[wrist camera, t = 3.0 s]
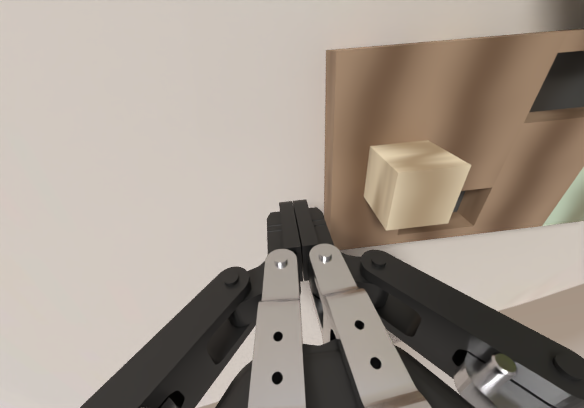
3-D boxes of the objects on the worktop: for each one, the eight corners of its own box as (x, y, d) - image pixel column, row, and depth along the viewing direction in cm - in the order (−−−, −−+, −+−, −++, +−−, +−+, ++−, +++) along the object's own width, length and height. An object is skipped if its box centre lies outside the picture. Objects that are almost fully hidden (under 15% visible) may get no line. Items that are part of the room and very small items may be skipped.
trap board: (726, 16, 15) (797, 11, 13) (582, 202, 24) (613, 217, 22) (326, 50, 14) (336, 51, 12) (323, 232, 23) (329, 251, 21)
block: (428, 140, 16) (471, 165, 12) (414, 190, 18) (448, 223, 15) (369, 146, 16) (398, 173, 12) (363, 196, 18) (386, 230, 14)
